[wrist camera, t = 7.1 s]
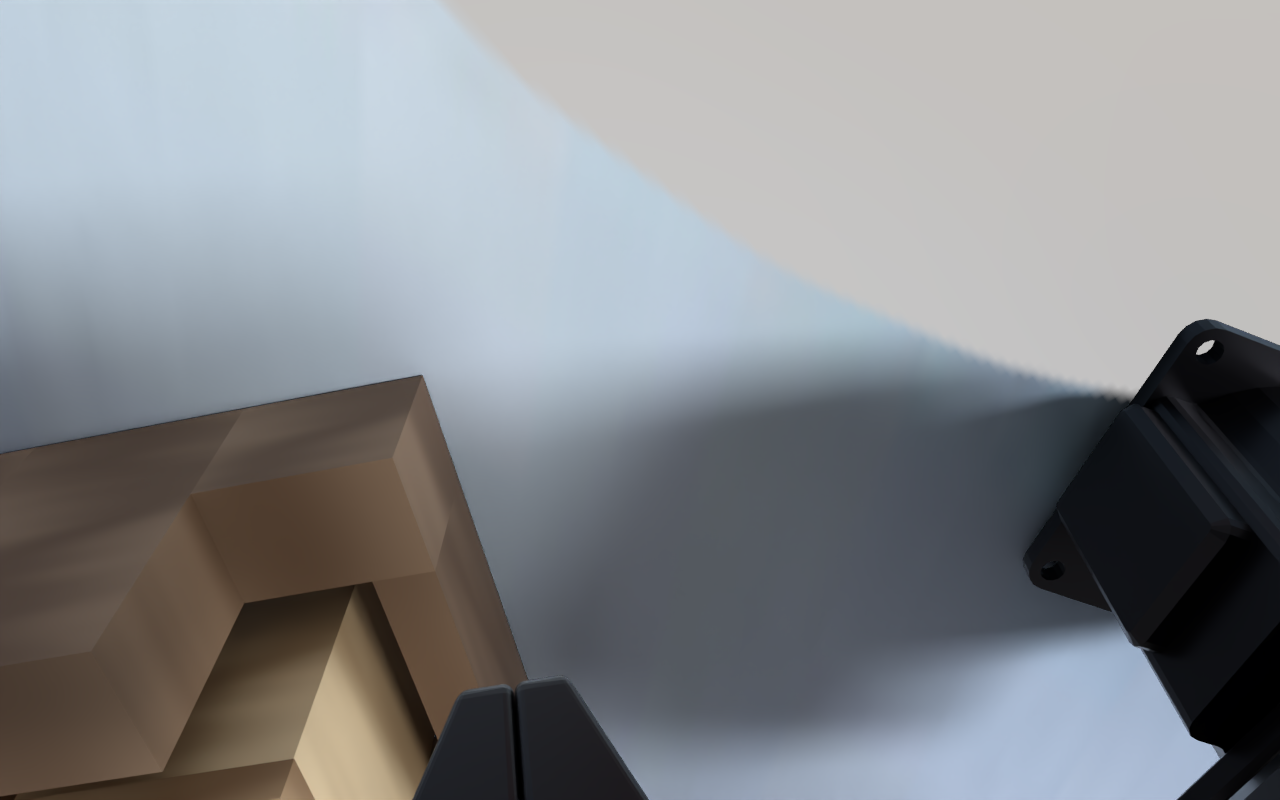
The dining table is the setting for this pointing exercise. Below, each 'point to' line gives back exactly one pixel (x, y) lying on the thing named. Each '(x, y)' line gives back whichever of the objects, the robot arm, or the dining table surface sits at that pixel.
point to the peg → (294, 712)
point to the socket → (224, 568)
